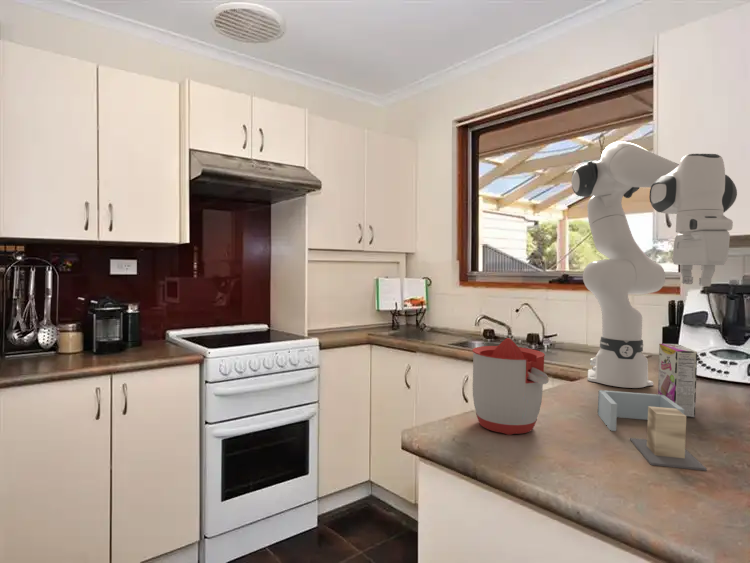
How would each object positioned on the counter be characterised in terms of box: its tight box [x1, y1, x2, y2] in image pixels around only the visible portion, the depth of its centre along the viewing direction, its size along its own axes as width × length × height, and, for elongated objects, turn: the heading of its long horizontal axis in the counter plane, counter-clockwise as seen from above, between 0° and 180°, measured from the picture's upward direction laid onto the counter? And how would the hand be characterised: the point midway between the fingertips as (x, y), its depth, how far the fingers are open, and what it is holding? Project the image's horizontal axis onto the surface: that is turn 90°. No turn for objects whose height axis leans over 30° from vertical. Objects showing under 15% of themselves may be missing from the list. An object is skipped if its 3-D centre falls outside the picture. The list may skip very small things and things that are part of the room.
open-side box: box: [597, 389, 684, 432], centre depth 109 cm, size 12×14×6 cm
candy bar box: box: [657, 343, 698, 418], centre depth 120 cm, size 11×5×16 cm, turn 168°
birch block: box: [646, 406, 687, 458], centre depth 92 cm, size 5×5×8 cm
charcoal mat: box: [629, 437, 707, 472], centre depth 92 cm, size 13×9×1 cm
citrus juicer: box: [472, 337, 549, 436], centre depth 105 cm, size 16×17×20 cm
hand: (695, 285), depth 108 cm, fingers open, 8 cm apart
